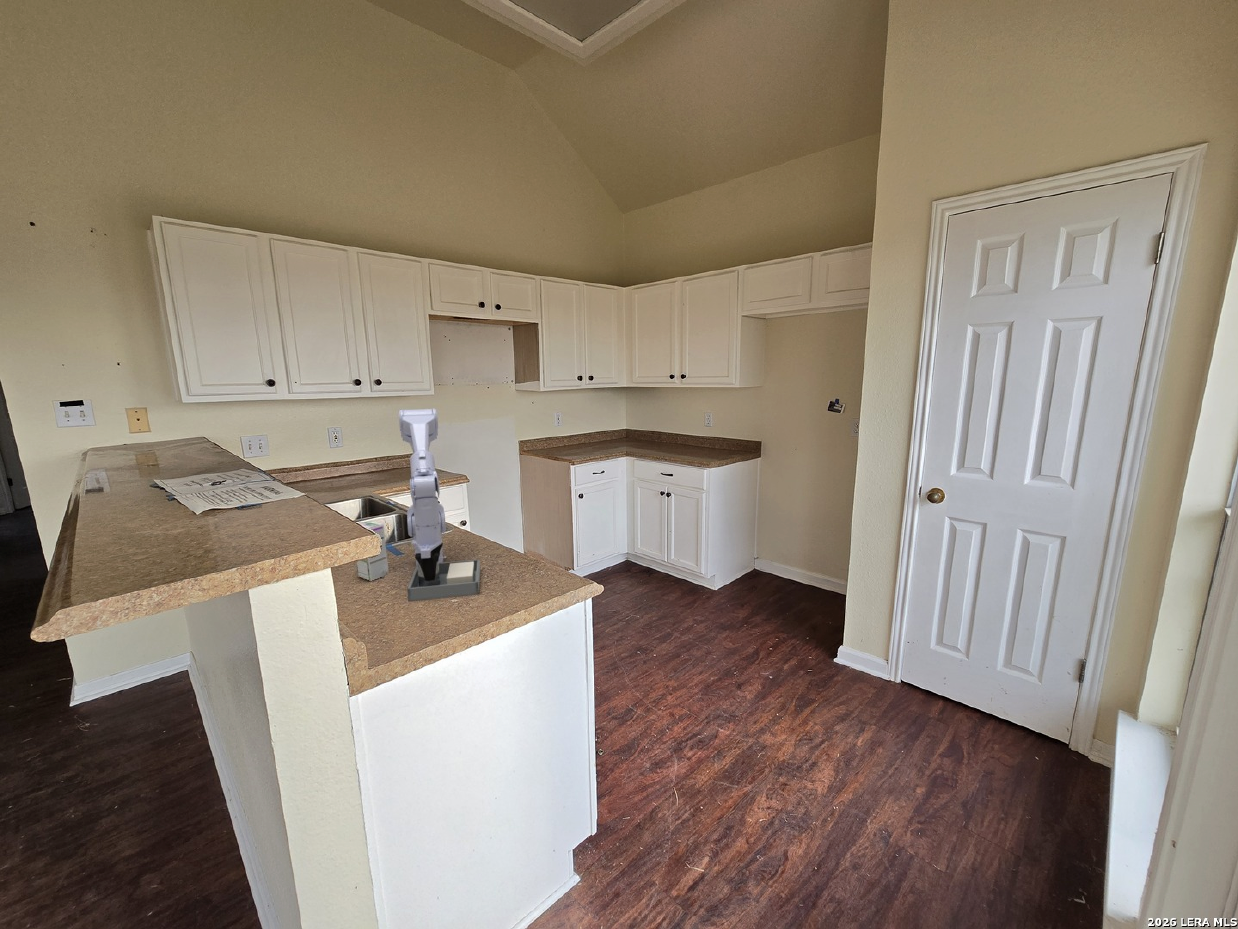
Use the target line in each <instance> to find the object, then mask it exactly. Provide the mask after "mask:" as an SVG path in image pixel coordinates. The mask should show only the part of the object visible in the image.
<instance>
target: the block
mask: <svg viewBox="0 0 1238 929" xmlns="http://www.w3.org/2000/svg"><path fill="white" fill-rule="evenodd" d="M474 576H475V573H474V562H463V563H451V564H450V566H449V570H448V575H447V584H456V583H466V582H474Z"/></svg>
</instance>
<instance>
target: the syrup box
mask: <svg viewBox="0 0 1238 929" xmlns="http://www.w3.org/2000/svg"><path fill="white" fill-rule="evenodd" d="M360 524H361V525H362V526H364V527H366V528H369V529H371V530H373V531H374V532H375V533H377V534H379V535H380V537H381V539H382V550H381V552H380V554H379V555H378V556H376V557H373V558H367V559H365V560H362V561H358V562H356V561H355V564H356V571H357V572H356V574H357V577H358V576H360V577H364V578H365V579H367V580H366V581H368V580H369V582H373V581H372V580H374V579H377V578H379V579H381V578H380V577H382V578H384V577H385V576H386V575H387V573H389V564H388V554H387V547H386V546H387V545H386V537H385V536H386V535H385V528H384V524H383V523H379V522H376V521H371V520H369V521H364V522H361V523H360ZM365 579H364V580H365ZM377 580H378V579H377ZM374 581H375V580H374Z"/></svg>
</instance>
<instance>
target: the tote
mask: <svg viewBox="0 0 1238 929" xmlns="http://www.w3.org/2000/svg"><path fill="white" fill-rule="evenodd" d="M463 562H474V573H475V576H474V582H466V583H456V584H447V575H448V570H449V566H450V564H451V563H463ZM439 574H440V585H435V586H425V587H419V579H418V567H417V566H416V565H415V568H414V571H413V573H412V576H411V578H410V580H409V583H408V587H407V589H406V590H407V591H406V592H407V601H408V602H415V601H427V600H435V599H444V598H445V599H446V598H455V597H465V596H466V597H467V596H474V595H475V596H476V595H480V580H481V559H480V558H478V559H467V560H456V561H454V560H453V561H445V562H444V561H443V563H439Z"/></svg>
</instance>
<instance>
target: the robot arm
mask: <svg viewBox="0 0 1238 929" xmlns="http://www.w3.org/2000/svg"><path fill="white" fill-rule="evenodd" d="M398 422H399V424H398V425H399V431H400V436H401V438H402V441H403V442H406V443H408V444H409V445H410V447H411V449H412V454H411V456H410V457H409V464H410V476H411V477H410V479H409V488H410V491H409V492H410V497H411V501H412V505H410V506H409V507H408V508H407V509H408V510H407V511H406V512H407V513H406V515H407V516H406V517H407V518H406V519H407V520H406V521H407V533H408V536H410V537H412V538H413V541H411V542H410V543H411V546H412V547H414V558H415V567H416V566H417V564H418V563H419V564H420V566H421V569H422V572H423V575H424V578H425V580H426V581H433V580H435V576H436V565H437V561H438V562H439V563H443V562H444V559H446V558H447V556H445V555H443V554H444V553H443V545H444V543H443V540H442V536H443V534H445V532H447V526H446V525H447V524H446V514H445V508H444V506H443V504H441V503H439V498H440V481H439V477H438V473H437V471H436V464H435V456H434V454H433V453H431V452H430V451H429V450H430V446H431V443H432V442H433V441H435V440H436V439H437V438H438V432H439V430H438V429H439V420H438V411H437V409H436V408H424V409H421V408H419V409H399V411H398ZM436 493H437V494H436Z"/></svg>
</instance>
